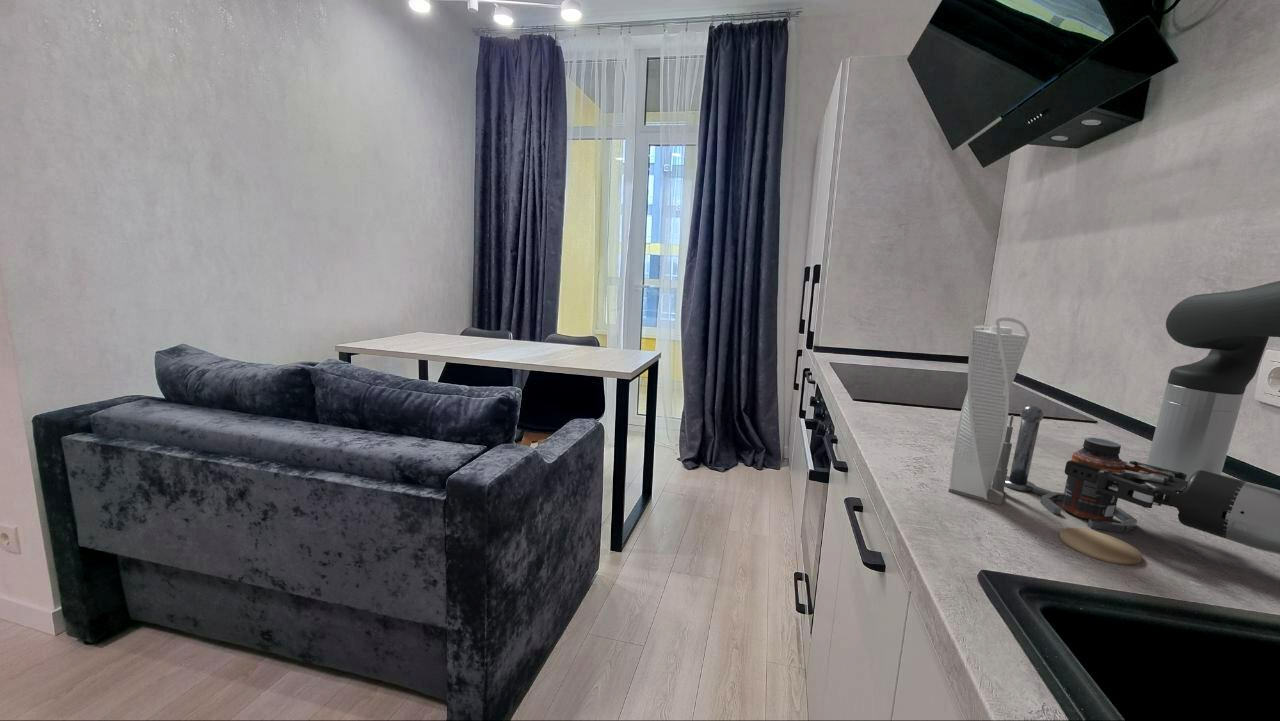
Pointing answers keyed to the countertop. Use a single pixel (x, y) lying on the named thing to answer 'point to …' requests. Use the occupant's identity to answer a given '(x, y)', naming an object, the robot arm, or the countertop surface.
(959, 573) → the countertop surface
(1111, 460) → the supplement bottle
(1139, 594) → the countertop surface
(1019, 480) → the ring holder
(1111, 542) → the coaster
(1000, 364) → the skyscraper
